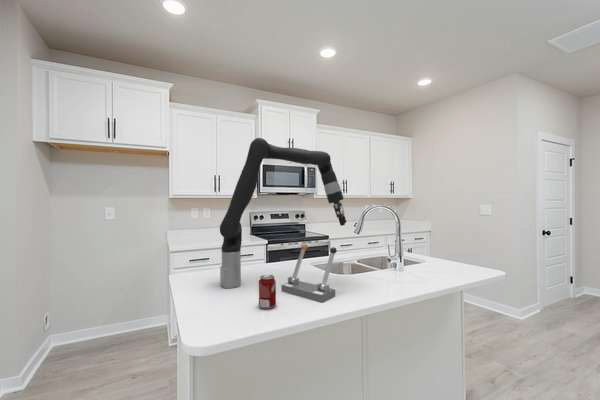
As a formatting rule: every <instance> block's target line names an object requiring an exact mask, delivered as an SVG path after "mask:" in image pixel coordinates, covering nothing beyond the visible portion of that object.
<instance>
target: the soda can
mask: <svg viewBox="0 0 600 400" xmlns="http://www.w3.org/2000/svg"><path fill="white" fill-rule="evenodd" d="M276 283H277V281H276V279H275V276H274V275H273V274H264V275H261V276H260V278H259V280H258V306H259V308H261V309H265V310H270V309H273V308H274V307H276V306H277V284H276Z"/></svg>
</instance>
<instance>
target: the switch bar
mask: <svg viewBox="0 0 600 400" xmlns="http://www.w3.org/2000/svg"><path fill="white" fill-rule="evenodd" d="M291 277H292V276H288V277H287V282H286V283H283V284H281V292H282V293H286V294H289V295H292V296H297V297H300V298H304V299H308V300H311V301H314V302H318V303H322V304H323V303H325V302H326V301H329V300H332V299H333V298H334V297H336V289H335V288H331V287H330V284H326V286H324V288H325V291H323V290H320V289H319V286H320V284H322V282H318V283H316V284H313V283H309V282H305V281H301V280H300V278H299V277H296V279H294V283H291V282H290V278H291Z"/></svg>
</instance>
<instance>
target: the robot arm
mask: <svg viewBox="0 0 600 400" xmlns="http://www.w3.org/2000/svg"><path fill="white" fill-rule="evenodd" d="M265 159H266V160H280V161H287V162H291V163H296V164H302V165H315V166H317V169H318V171H319V174H320V176H321V177H320V178H321V180H322V184H323V187H324V192H325V196H326V199H327V202H328V204H333V209H334V213H335V217H336V218H337V220H338V222H339V224H340V226H345V225H346V223H347V220H346V217H345V209H344V206H343V204H342V202H340V201H342V200H344V195H343V192H342V188H341V185H340V184H339V181H338V178H337V175H336V173H335V171H334V169H333V168H334V167H333V166H332V162H331V155H330V154H329V153H328V152H325V151H322V150H308V149H305V148H304V149H302V148H297V147H282V146H276V145H274V144H270V143H268V141H267V140H266V139H264V138H263V137H257V138H255V139H253V140H252V141H251V143H250V146H249V148H248V153H247V156H246V160H245V163H244V166H243V168H242V170H241V172H240V175H239V177H238V180H237V182H236V185H235V188H234V191H233V194H232V196H231V199H230V203H229V205H228V209H227V211H226V213H225V216H224V217H223V219H222V221H221V223H220V225H219V233H220V235H221V236H222V237H223V242H222V244H221V266H220V270H219V271H220V272H219V273H220V275H219V276H220V277H219V278H220V283H219V284H220V286H221V287H222V288H223V289H233V288H238V287H240V286H241V285H242V271H241V270H242V266H241V264H242V261H241V257H242V256H241V255H242V254H241V250H242V249H241V247H242V239H243V236H242V234H243V232H242V231H243V229H242V228H243V226H242V223H241V220H242V216H243V214H244V211H245V210H246V208H247V207H248V205H249V204H250V201H252V198H253V196H254V194H255V190H256V188H257V184H258V178H259V177H258V176H259V171H260V167H261V164H262V163H263V161H264V160H265Z"/></svg>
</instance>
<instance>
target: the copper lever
mask: <svg viewBox="0 0 600 400" xmlns="http://www.w3.org/2000/svg"><path fill="white" fill-rule="evenodd" d="M300 247H301V248H300V253H299V256H298V259H297V261H296V264H295V268H294V270H293V274H292V276H290V277H291V278H290V282H291V283H294V279H296V278H298V274H299V272H300V268H301V264H302V261H303V259H304V255H305V253H306V250H307V249H308V245H307V244H306V243H303V244H302V245H301V246H300Z"/></svg>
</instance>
